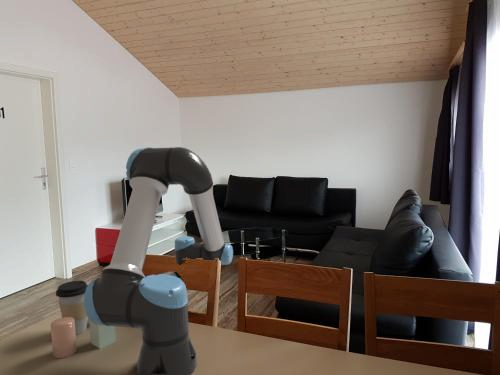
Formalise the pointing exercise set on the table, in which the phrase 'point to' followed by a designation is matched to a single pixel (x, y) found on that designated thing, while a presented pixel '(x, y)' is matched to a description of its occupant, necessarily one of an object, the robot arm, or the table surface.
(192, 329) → the table surface
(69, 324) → the peach rounded cylinder
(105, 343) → the sage tin
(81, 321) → the coffee cup
